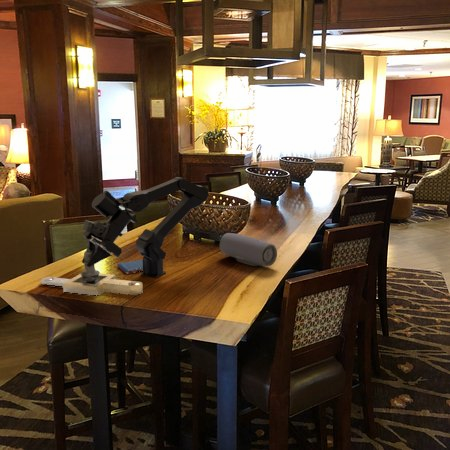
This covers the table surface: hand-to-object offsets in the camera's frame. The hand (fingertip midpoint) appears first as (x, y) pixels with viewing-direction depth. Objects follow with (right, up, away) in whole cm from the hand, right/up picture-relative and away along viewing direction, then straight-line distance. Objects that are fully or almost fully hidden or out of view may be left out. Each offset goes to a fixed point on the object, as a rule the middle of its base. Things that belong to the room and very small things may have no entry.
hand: (85, 264), depth 155 cm
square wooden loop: (+7, -8, +1) cm, 11 cm away
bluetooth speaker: (+53, -2, +29) cm, 60 cm away
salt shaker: (+1, -7, +2) cm, 7 cm away
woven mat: (+12, -4, +22) cm, 26 cm away
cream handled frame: (-5, -7, +4) cm, 10 cm away
